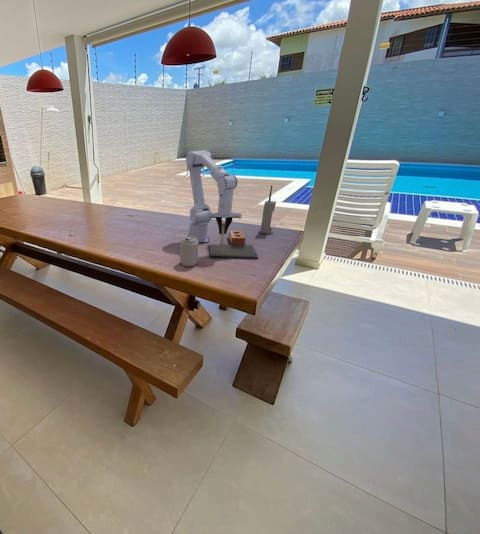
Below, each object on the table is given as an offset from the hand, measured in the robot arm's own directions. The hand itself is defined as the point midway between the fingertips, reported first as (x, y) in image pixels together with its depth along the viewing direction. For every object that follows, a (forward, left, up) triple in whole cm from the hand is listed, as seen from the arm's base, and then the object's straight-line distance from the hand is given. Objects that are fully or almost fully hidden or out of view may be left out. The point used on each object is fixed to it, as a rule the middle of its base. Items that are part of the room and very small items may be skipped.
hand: (222, 233), depth 141 cm
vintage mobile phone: (+26, +28, -10) cm, 39 cm away
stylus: (0, 0, -5) cm, 5 cm away
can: (-15, -14, -10) cm, 23 cm away
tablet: (+5, 0, -9) cm, 11 cm away
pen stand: (+9, +14, -9) cm, 19 cm away
